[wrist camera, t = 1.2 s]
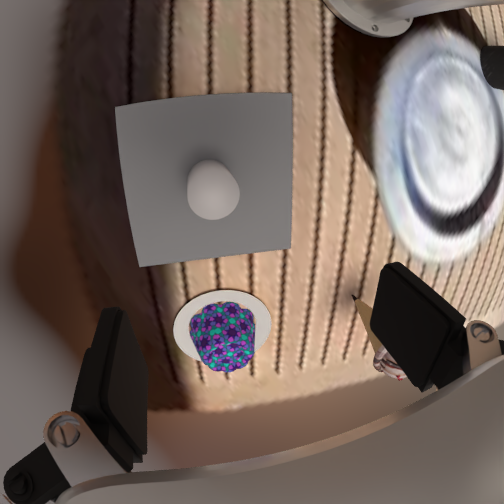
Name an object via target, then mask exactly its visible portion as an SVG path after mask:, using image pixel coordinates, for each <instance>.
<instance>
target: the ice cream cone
mask: <svg viewBox="0 0 504 504" xmlns="http://www.w3.org/2000/svg"><path fill="white" fill-rule="evenodd" d="M352 297H353V299H354V302H355V304H356V307H357V309H358V311H359V314H360V316H361V319H362V321H363V324H364V326H365V329H366V331H367V334H368V336H369V339H370V341H371V344H372V346H373V349H374V352H375V356H374V360H373V365H374V367H375V369H376V370H378V371H379V372H384V373H385V374H387V375H388V376H389V377H392V378H397V379H398V380H402V379H403V378H405V377H407V376H406V375H405V373H404V372H403V371H402V369H401V368H400V367H399V365H398V364H397V363H396V361H395V360H394V359H393V358H392V356H391V355H390V354H389V352H388V351H387V350H386V349H385V347H384V346H383V345H382V343H381V342H380V341H379V340H378V338H377V337H376V336H375V335H374V333H373V332H372V331H371V329H370V319H371V314H372V310H373V309H372V308H371V307H369V306H368V305H367V304H365V303H364V302H362V301H361V300H359V299H358V298H356V297H355V296H354V295H352Z"/></svg>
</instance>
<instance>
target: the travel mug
mask: <svg viewBox="0 0 504 504" xmlns="http://www.w3.org/2000/svg"><path fill="white" fill-rule="evenodd" d="M480 58H481V66H482V70H483V73H484V76H485V78H486V80H487V82H488V83H489V84H490V85H491V86H492V87H494V88H497V89H502V90H504V46H485V47H483V49H482V51H481V57H480Z"/></svg>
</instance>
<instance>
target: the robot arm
mask: <svg viewBox="0 0 504 504" xmlns="http://www.w3.org/2000/svg"><path fill="white" fill-rule="evenodd" d="M323 1H324V2H325V4H326V5H327V7H328V8H329V9H330V10H331V11H332V12H333V13H334V14H335V15H336V16H337V17H338V18H340V19H341V20H342V21H343V22H344V23H346V24H347V25H349V26H350V27H352V28H354V29H355V30H358V31H360V32H362V33H364V34H367V35H370V36H373V37H381V38H383V37H392V36H396V35H399V34H401V33H403V32H405V31H406V30H407V29H408V28H409V27H410V25H411V23H412V20H413V17H417V16H421V15H426V14H431V13H436V12H441V11H447V10H453V9H459V8H467V7H475V6H486V5H500V4H504V0H323ZM465 320H466V318H465V317H464V316H463V315H462V314H460V313H459V312H458V311H457V310H456V309H455V308H454V307H453V306H451V305H450V304H449V303H448V302H447V301H446V300H445V299H444V298H442V297H441V296H440V295H439V294H438V293H437V292H435V291H434V290H433V289H432V288H431V287H429V286H428V285H427V284H426V283H425V282H424V281H422V280H421V279H420V278H419V277H417V276H416V275H415V274H414V273H413V272H411V271H410V270H409V269H408V268H406V267H405V266H404V265H403V264H401V263H400V262H394V263H389V264H386V265H385V266H384V267H383V269H382V270H381V272H380V277H379V282H378V287H377V292H376V297H375V301H374V306H373V310H372V314H371V319H370V329H371V331H372V332H373V333H374V335H375V336H376V337H377V338H378V340H379V341H380V342H381V343H382V345H383V346H384V347H385V349H386V350H387V351H388V352H389V354H390V355H391V356H392V358H393V359H394V360H395V361H396V363H397V364H398V365H399V367H400V368H401V369H402V371H403V372H404V373H405V375H406V376H407V377H408V379H409V380H410V381H411V382H412V384H413V385H414V386H415V387H418V388H419V389H420V391H421V392H424V391H426V390H428V389H430V388H431V387H432V386H433V384H435V385H436V392H434V393H432V394H430V395H428V396H427V397H425V398H423V399H421V400H419V401H417V402H415V403H413V404H411V405H409V406H407V407H405V408H403V409H401V410H398V411H396V412H394V413H392V414H390V415H388V416H385V417H383V418H381V419H378V420H376V421H374V422H371V423H369V424H366V425H364V426H361V427H359V428H356V429H353V430H351V431H348V432H345V433H343V434H340V435H337V436H334V437H331V438H328V439H325V440H322V441H319V442H315V443H312V444H309V445H305V446H302V447H298V448H295V449H291V450H287V451H283V452H279V453H275V454H271V455H266V456H262V457H257V458H252V459H247V460H241V461H236V462H230V463H223V464H217V465H209V466H202V467H194V468H185V469H172V470H158V471H146V472H131V470H132V469H133V463H142V462H143V461H142V455H144V454H147V394H148V368H147V364H146V362H145V359H144V357H143V355H142V352H141V350H140V347H139V344H138V342H137V339H136V337H135V334H134V331H133V328H132V326H131V323H130V320H129V317H128V314H127V312H126V311H125V310H123V311H121V309H120V307H111V308H104V309H103V310H102V312H101V316H100V319H99V322H98V325H97V328H96V332H95V335H94V338H93V342H92V345H91V348H88V349H87V350H86V352H85V355H84V358H83V362H82V366H81V370H80V373H79V377H78V381H77V385H76V390H75V393H74V398H73V402H72V407H71V411H62V412H58V413H56V414H54V415H53V416H52V417H50V418H49V420H48V421H47V422H46V424H45V426H44V430H43V438H44V441H45V442H44V443H43V444H42V445H40V446H39V447H38V448H36V449H35V450H34V451H32V452H31V453H30V454H28V455H27V456H26V457H24V458H23V459H22V460H20V461H19V462H18V463H16V464H15V465H14V466H12V467H11V468H10V469H9V470H8V471H7V472H6V475H5V476H4V482H3V483H4V490H5V493H4V495H3V494H1V493H0V504H504V341H503V340H498V335H497V333H496V331H495V330H494V328H493V327H492V326H490V325H489V324H488V323H486V322H483V321H480V320H474V321H471V322H469V323H468V325H467V327H466V328H465V327H464V326H463V325H464V322H465Z"/></svg>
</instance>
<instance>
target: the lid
mask: <svg viewBox="0 0 504 504" xmlns="http://www.w3.org/2000/svg"><path fill="white" fill-rule="evenodd" d="M115 115H116V127H117V137H118V146H119V155H120V163H121V170H122V177H123V184H124V191H125V197H126V203H127V208H128V214H129V219H130V225H131V230H132V235H133V239H134V244H135V249H136V253H137V258H138V262H139V266H140V267H143V266H151V265H159V264H168V263H176V262H184V261H192V260H200V259H208V258H217V257H225V256H233V255H241V254H249V253H257V252H265V251H273V250H281V249H289V248H291V224H292V162H293V131H292V93H228V94H210V95H197V96H187V97H177V98H169V99H161V100H154V101H147V102H141V103H135V104H129V105H124V106H119V107H115Z"/></svg>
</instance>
